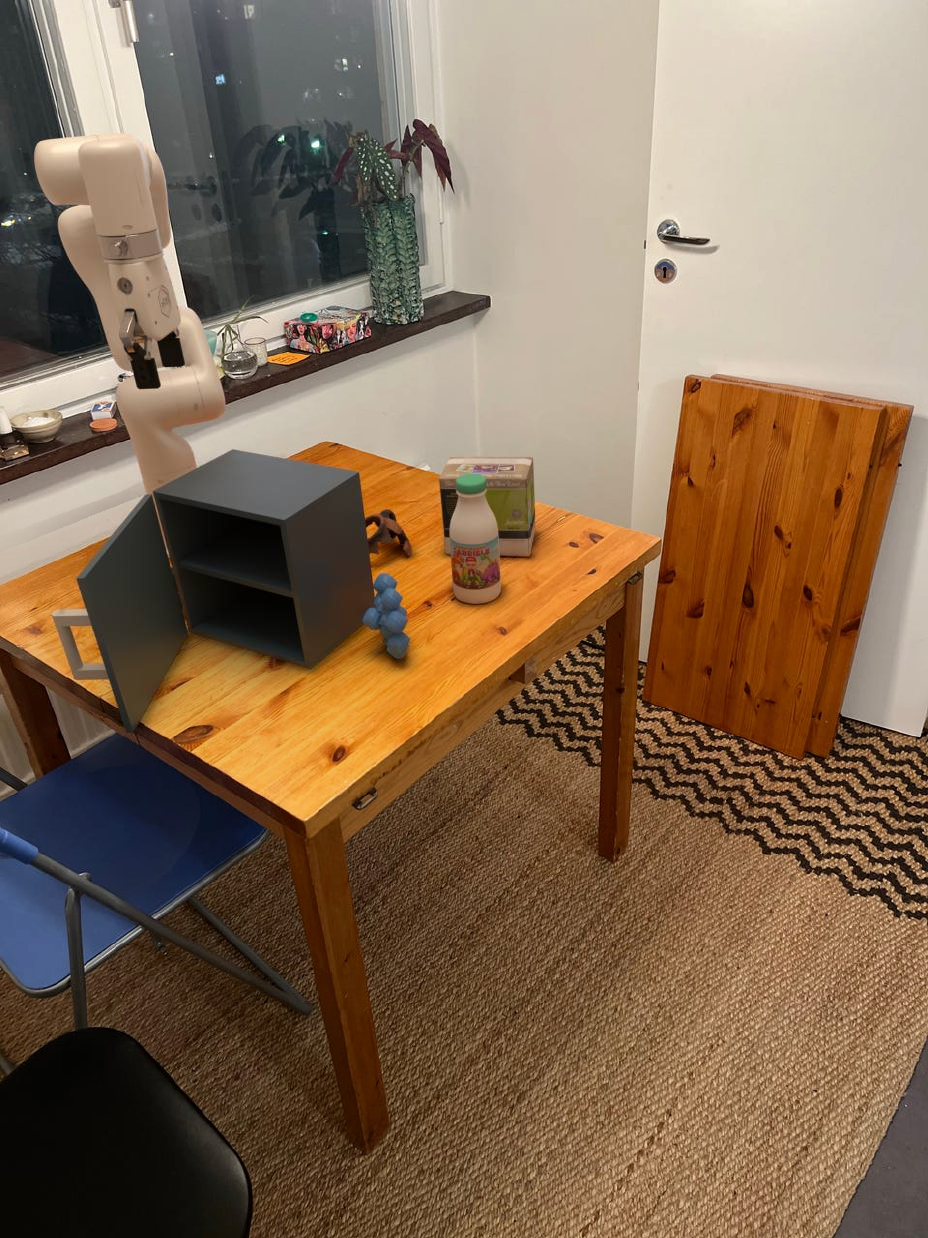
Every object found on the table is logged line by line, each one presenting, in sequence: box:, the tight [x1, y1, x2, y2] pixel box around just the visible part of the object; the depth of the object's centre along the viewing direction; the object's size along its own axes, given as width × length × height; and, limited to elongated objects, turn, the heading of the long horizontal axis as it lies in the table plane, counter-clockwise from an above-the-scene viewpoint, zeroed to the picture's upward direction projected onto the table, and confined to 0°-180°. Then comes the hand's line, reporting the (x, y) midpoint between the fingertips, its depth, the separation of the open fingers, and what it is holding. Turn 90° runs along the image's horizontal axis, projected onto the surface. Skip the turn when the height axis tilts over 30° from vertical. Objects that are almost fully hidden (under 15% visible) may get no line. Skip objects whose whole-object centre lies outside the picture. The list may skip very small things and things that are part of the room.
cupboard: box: [153, 448, 376, 670], centre depth 137 cm, size 17×24×24 cm
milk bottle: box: [450, 473, 502, 605], centre depth 142 cm, size 8×8×20 cm
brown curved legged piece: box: [365, 508, 413, 558], centre depth 161 cm, size 12×10×8 cm
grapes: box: [362, 573, 411, 660], centre depth 132 cm, size 12×7×12 cm, turn 16°
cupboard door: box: [51, 493, 189, 734], centre depth 126 cm, size 8×24×24 cm, turn 177°
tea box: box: [438, 456, 536, 557], centre depth 158 cm, size 15×10×15 cm
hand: (162, 376), depth 127 cm, fingers open, 9 cm apart
